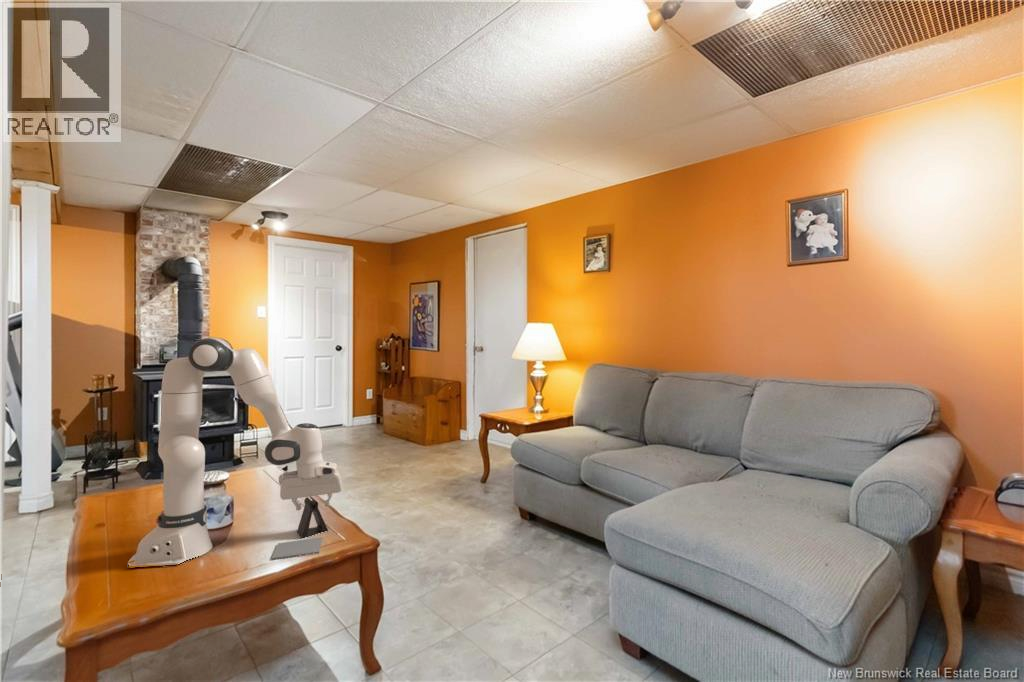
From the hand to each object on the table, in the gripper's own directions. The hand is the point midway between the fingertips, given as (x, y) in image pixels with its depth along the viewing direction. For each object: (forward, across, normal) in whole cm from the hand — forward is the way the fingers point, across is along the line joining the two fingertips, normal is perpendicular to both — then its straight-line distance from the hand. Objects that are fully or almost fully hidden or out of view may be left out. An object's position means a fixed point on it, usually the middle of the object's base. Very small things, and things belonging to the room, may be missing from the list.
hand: (313, 507), depth 173 cm
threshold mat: (+8, -4, -13) cm, 16 cm away
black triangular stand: (+9, -1, 0) cm, 9 cm away
